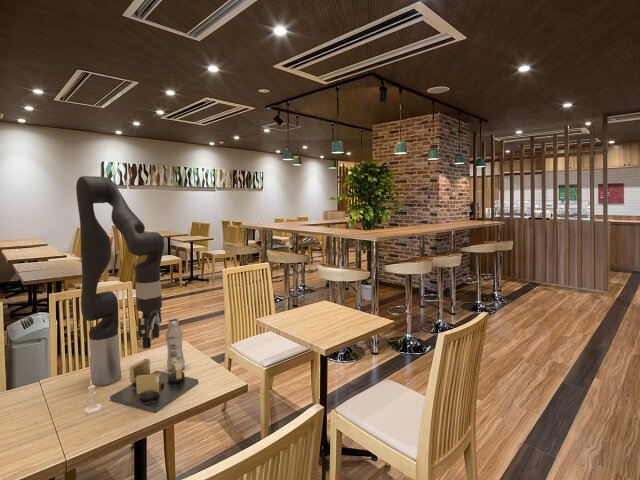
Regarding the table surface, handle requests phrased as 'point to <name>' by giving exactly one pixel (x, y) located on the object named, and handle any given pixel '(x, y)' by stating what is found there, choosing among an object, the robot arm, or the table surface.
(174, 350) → the plastic bottle
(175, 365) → the knob
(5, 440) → the table surface
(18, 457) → the table surface
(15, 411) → the table surface
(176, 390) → the plate
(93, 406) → the chess piece
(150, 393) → the knob
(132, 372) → the knob
